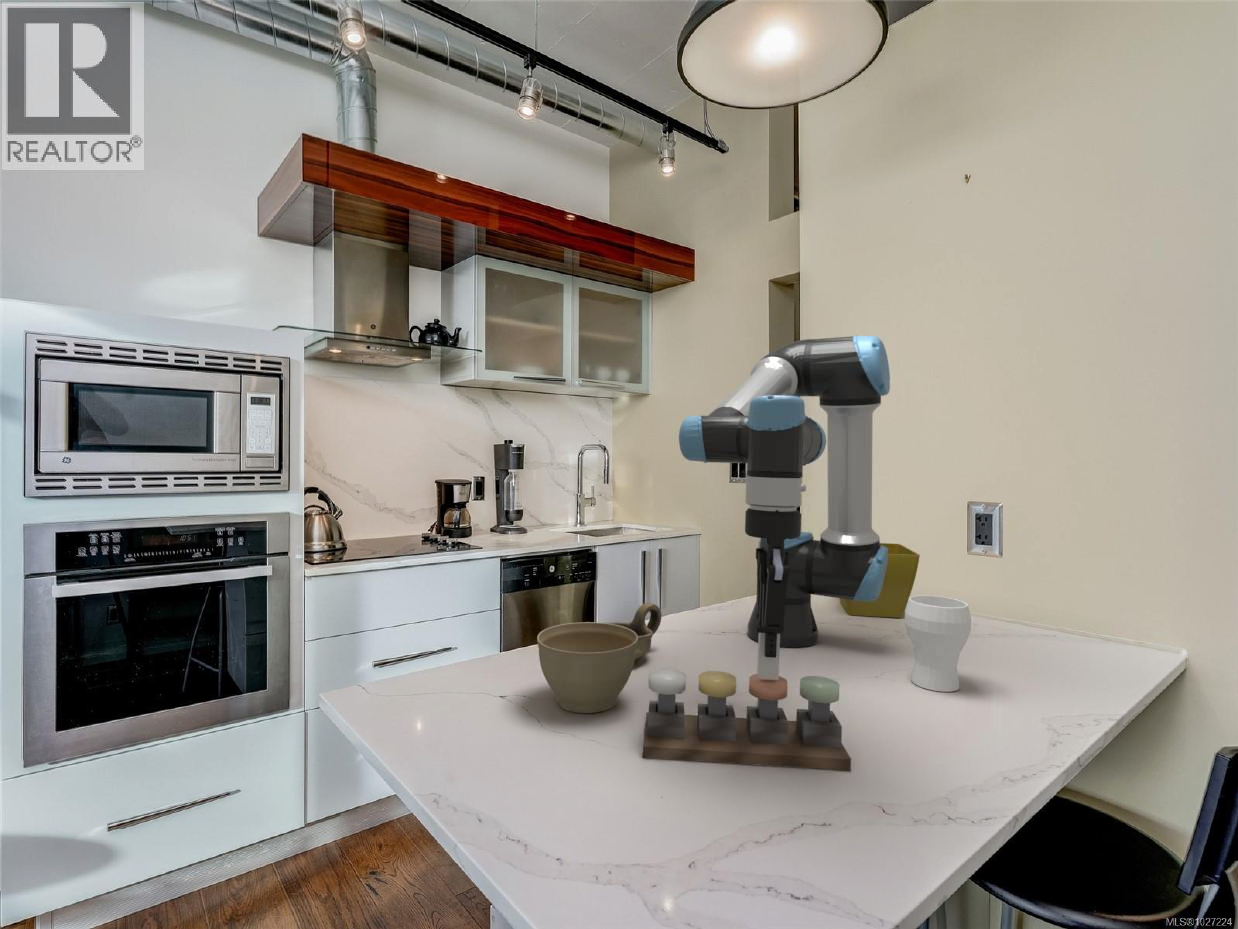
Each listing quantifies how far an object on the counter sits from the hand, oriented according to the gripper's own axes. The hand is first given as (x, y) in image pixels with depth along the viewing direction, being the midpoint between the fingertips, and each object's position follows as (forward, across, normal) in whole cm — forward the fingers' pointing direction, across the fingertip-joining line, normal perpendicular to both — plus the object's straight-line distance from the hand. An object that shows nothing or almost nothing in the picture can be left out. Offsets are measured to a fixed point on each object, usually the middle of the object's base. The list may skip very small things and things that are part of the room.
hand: (767, 677), depth 88 cm
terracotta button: (+6, 0, 0) cm, 6 cm away
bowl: (+10, +35, +22) cm, 43 cm away
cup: (+10, +29, -34) cm, 46 cm away
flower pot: (+9, +82, -38) cm, 91 cm away
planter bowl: (+10, +12, +27) cm, 31 cm away
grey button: (+6, 0, +14) cm, 15 cm away
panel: (+10, 0, +3) cm, 10 cm away
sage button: (+6, 0, -7) cm, 9 cm away
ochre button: (+6, 0, +7) cm, 9 cm away
